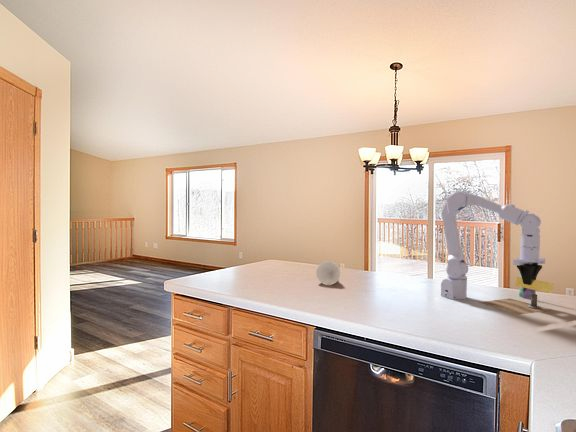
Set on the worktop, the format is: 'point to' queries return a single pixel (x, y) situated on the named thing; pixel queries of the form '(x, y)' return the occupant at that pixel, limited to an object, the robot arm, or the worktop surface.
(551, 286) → the golden square frame
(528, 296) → the spray can
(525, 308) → the board
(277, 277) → the worktop surface
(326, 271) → the grey rounded lump
